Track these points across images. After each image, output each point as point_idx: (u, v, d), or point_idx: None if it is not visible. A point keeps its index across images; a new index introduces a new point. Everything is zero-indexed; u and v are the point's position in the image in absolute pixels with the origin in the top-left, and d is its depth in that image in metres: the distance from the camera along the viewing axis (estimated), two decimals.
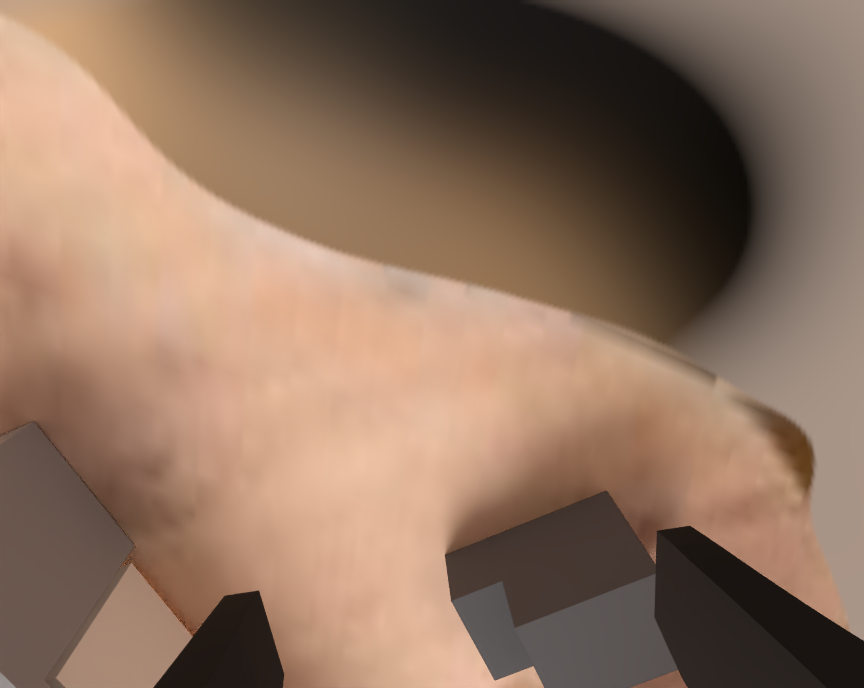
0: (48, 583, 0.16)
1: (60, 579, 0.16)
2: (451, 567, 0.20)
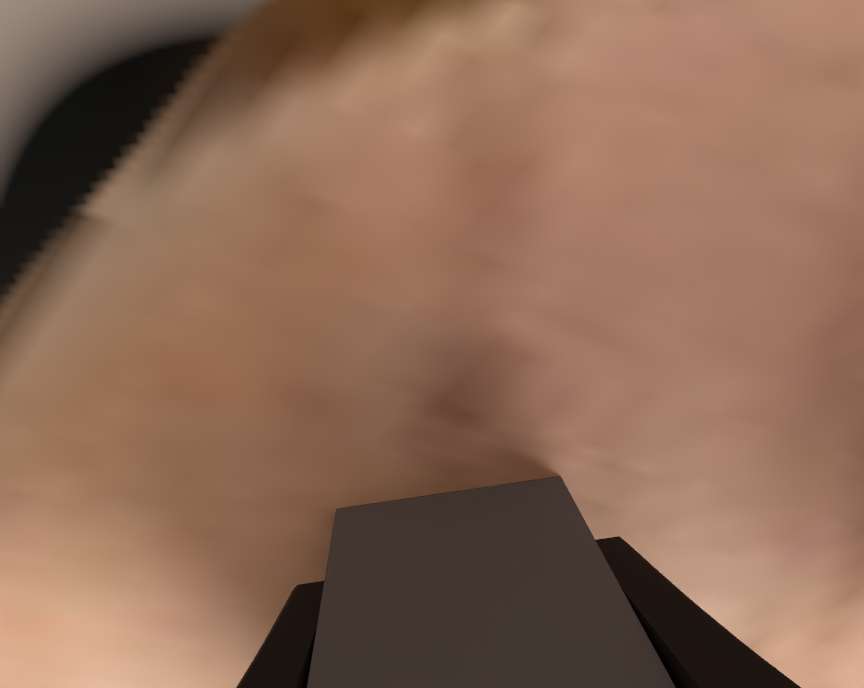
0: None
1: None
2: None
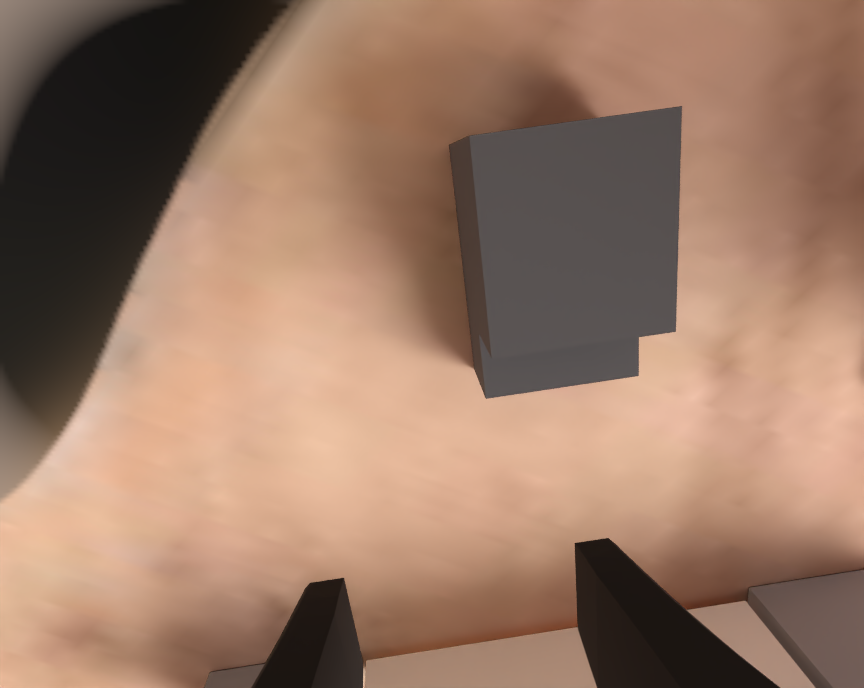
0: None
1: None
2: (477, 372, 0.16)
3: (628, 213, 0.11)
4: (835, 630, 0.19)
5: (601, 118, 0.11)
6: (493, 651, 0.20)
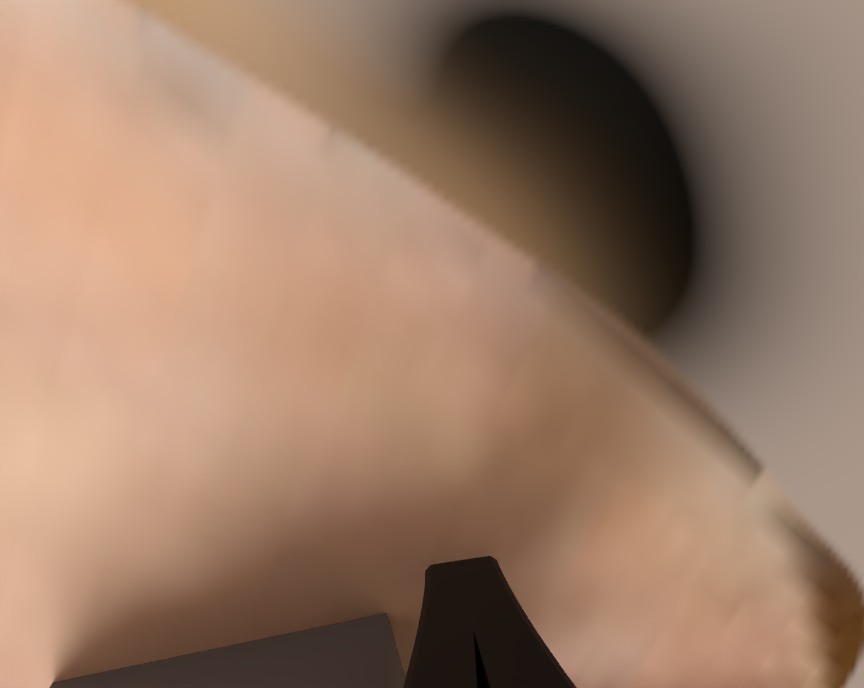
0: None
1: None
2: None
3: None
4: None
5: None
6: None
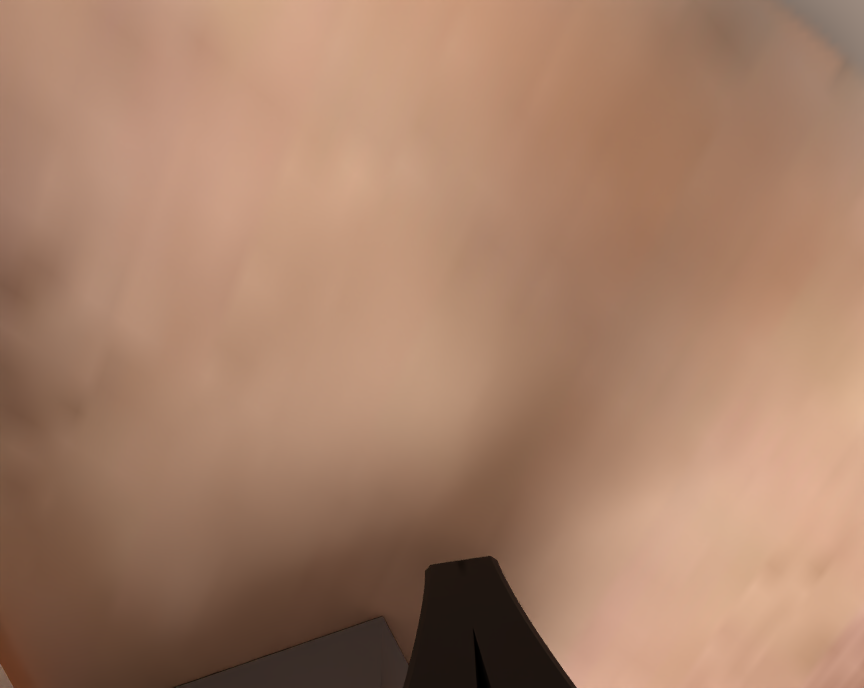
0: None
1: None
2: None
3: None
4: None
5: None
6: None
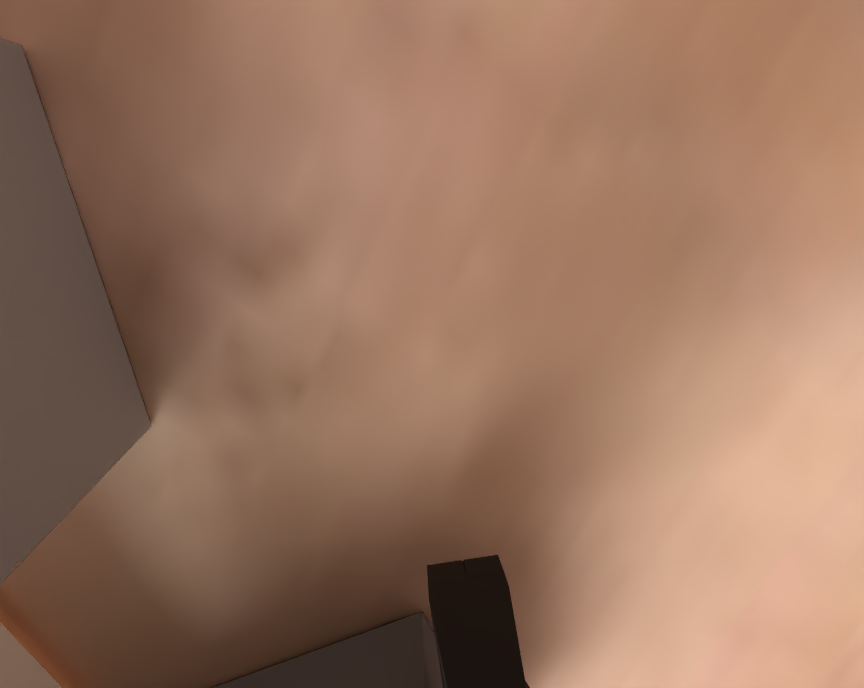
0: None
1: None
2: None
3: None
4: None
5: None
6: None
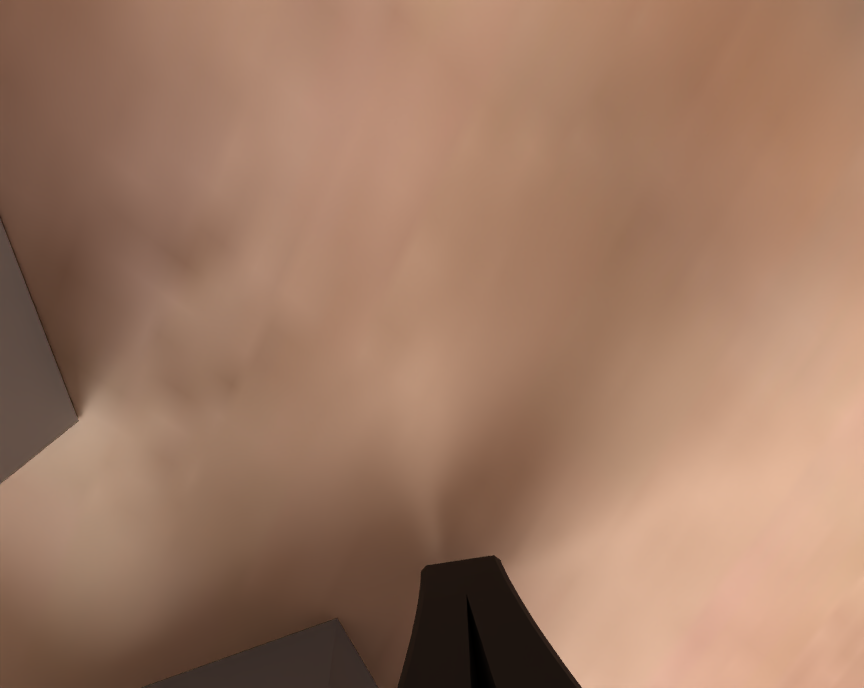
0: None
1: None
2: None
3: None
4: None
5: None
6: None
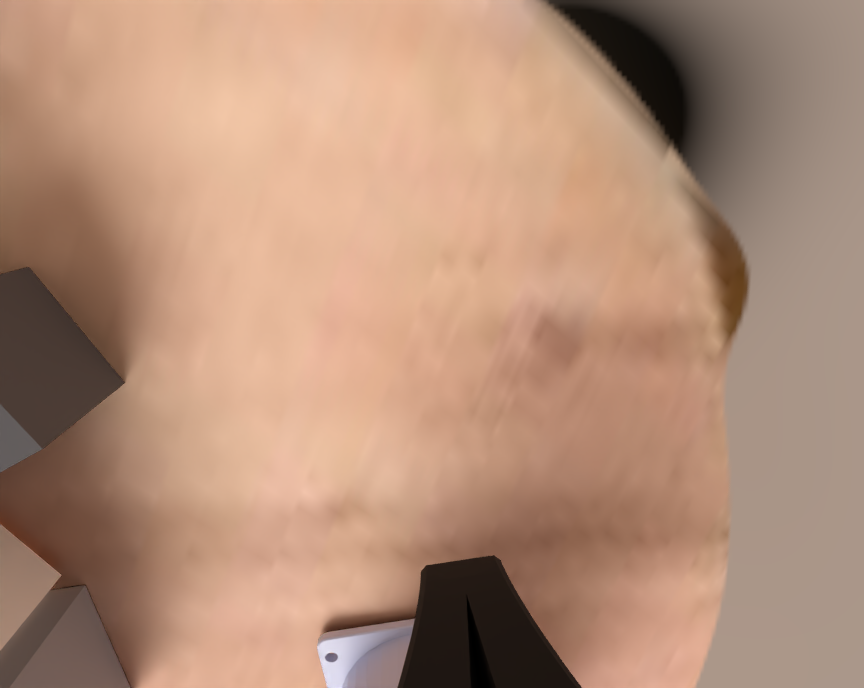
0: None
1: None
2: None
3: None
4: (63, 673, 0.18)
5: None
6: None
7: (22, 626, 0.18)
